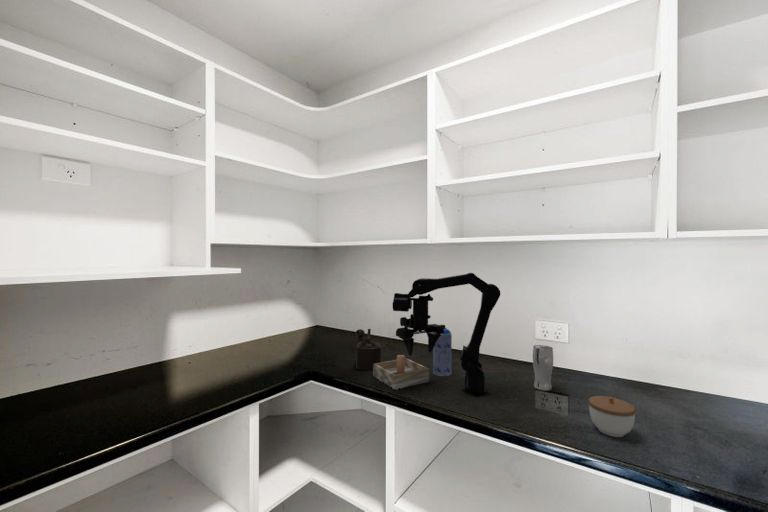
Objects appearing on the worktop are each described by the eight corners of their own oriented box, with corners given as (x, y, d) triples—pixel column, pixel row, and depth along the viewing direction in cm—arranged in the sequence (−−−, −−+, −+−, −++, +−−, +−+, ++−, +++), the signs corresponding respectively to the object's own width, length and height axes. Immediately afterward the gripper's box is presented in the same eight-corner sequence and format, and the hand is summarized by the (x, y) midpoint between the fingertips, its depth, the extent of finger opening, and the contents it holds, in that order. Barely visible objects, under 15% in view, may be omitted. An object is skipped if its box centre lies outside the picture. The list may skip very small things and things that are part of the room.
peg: (406, 379, 131) (406, 356, 131) (399, 380, 130) (399, 357, 130) (401, 376, 134) (401, 354, 134) (395, 378, 132) (395, 355, 132)
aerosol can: (455, 373, 139) (455, 325, 139) (444, 377, 133) (444, 327, 134) (440, 368, 145) (440, 322, 145) (428, 372, 139) (429, 324, 139)
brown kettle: (355, 362, 152) (355, 323, 152) (379, 362, 153) (379, 323, 153) (354, 374, 136) (354, 330, 137) (381, 374, 137) (381, 330, 137)
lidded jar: (608, 442, 87) (608, 406, 87) (579, 422, 97) (580, 390, 97) (645, 441, 88) (645, 405, 88) (613, 421, 98) (613, 389, 98)
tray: (429, 381, 129) (429, 368, 129) (394, 389, 121) (394, 375, 121) (405, 369, 143) (405, 358, 143) (373, 376, 134) (373, 363, 134)
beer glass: (555, 391, 120) (555, 350, 120) (535, 390, 121) (535, 349, 121) (550, 384, 127) (550, 345, 127) (530, 383, 128) (530, 344, 128)
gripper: (426, 307, 136) (426, 345, 136) (388, 311, 127) (387, 352, 126) (445, 311, 127) (444, 352, 127) (404, 315, 117) (404, 359, 117)
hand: (420, 354), depth 124 cm, fingers open, 9 cm apart
